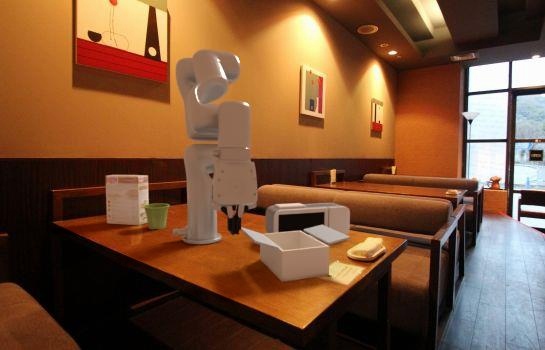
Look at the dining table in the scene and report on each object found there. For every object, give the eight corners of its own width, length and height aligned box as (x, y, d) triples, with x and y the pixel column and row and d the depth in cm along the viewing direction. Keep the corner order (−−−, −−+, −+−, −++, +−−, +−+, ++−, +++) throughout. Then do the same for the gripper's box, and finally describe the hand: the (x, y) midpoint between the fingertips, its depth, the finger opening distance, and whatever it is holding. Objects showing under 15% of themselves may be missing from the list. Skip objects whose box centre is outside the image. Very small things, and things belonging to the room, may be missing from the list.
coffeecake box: (149, 222, 132) (148, 174, 130) (138, 225, 125) (137, 176, 123) (118, 220, 135) (117, 174, 134) (106, 223, 128) (104, 175, 127)
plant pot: (175, 227, 123) (175, 204, 122) (154, 232, 115) (154, 208, 115) (159, 224, 128) (159, 202, 127) (138, 228, 120) (138, 206, 120)
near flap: (279, 247, 72) (278, 250, 72) (259, 233, 85) (259, 234, 85) (255, 240, 70) (254, 242, 70) (239, 226, 83) (238, 228, 83)
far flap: (350, 236, 78) (350, 238, 78) (322, 224, 91) (322, 226, 92) (329, 242, 76) (329, 244, 76) (303, 229, 89) (303, 231, 90)
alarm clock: (274, 245, 100) (274, 208, 99) (265, 238, 109) (265, 203, 108) (349, 238, 109) (350, 204, 108) (335, 232, 118) (336, 200, 117)
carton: (282, 281, 72) (282, 251, 71) (260, 259, 87) (260, 234, 86) (328, 275, 76) (329, 246, 75) (300, 254, 91) (300, 230, 90)
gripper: (204, 156, 68) (204, 240, 69) (270, 156, 73) (269, 234, 75) (199, 155, 75) (200, 232, 76) (259, 155, 80) (259, 227, 82)
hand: (234, 233), depth 76 cm, fingers closed
